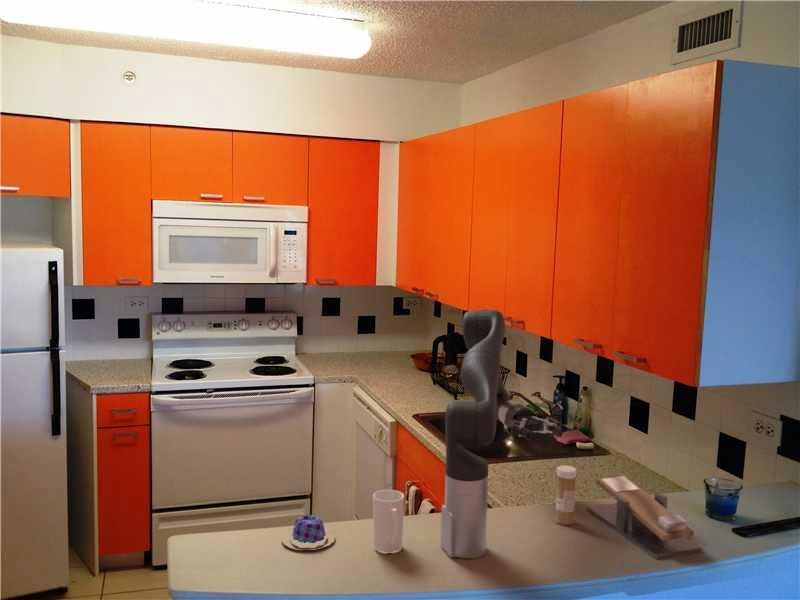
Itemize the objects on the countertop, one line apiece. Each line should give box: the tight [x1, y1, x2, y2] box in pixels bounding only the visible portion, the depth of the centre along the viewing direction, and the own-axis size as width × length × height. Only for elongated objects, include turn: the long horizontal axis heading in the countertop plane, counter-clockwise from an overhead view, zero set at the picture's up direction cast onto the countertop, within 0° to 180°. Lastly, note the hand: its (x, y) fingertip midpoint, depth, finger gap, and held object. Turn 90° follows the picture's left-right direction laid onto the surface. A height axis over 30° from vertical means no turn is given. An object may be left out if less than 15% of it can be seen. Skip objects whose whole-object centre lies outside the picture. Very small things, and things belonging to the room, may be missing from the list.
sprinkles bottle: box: [554, 465, 578, 526], centre depth 173 cm, size 5×5×14 cm
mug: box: [372, 489, 405, 552], centre depth 156 cm, size 10×7×12 cm, turn 16°
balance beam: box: [596, 475, 695, 540], centre depth 169 cm, size 8×26×3 cm, turn 18°
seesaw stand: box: [586, 492, 703, 560], centre depth 169 cm, size 12×27×8 cm, turn 18°
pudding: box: [292, 514, 326, 543], centre depth 161 cm, size 12×12×5 cm
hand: (545, 434), depth 182 cm, fingers open, 8 cm apart
